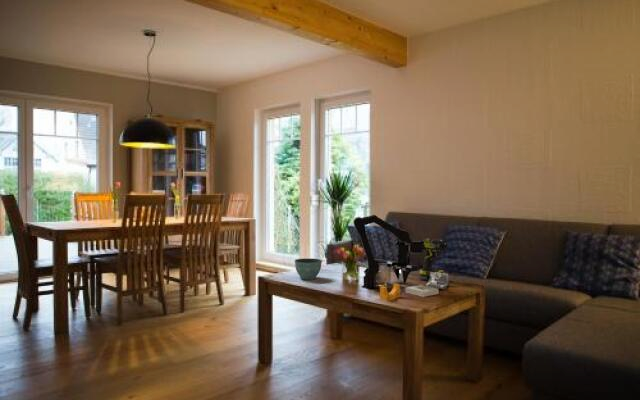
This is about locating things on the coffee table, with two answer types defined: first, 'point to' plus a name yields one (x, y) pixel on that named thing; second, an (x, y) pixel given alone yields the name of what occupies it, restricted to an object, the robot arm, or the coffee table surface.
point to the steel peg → (401, 277)
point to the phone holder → (438, 281)
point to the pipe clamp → (389, 296)
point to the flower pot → (308, 268)
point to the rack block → (422, 290)
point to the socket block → (402, 287)
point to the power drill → (431, 256)
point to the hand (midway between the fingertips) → (402, 281)
